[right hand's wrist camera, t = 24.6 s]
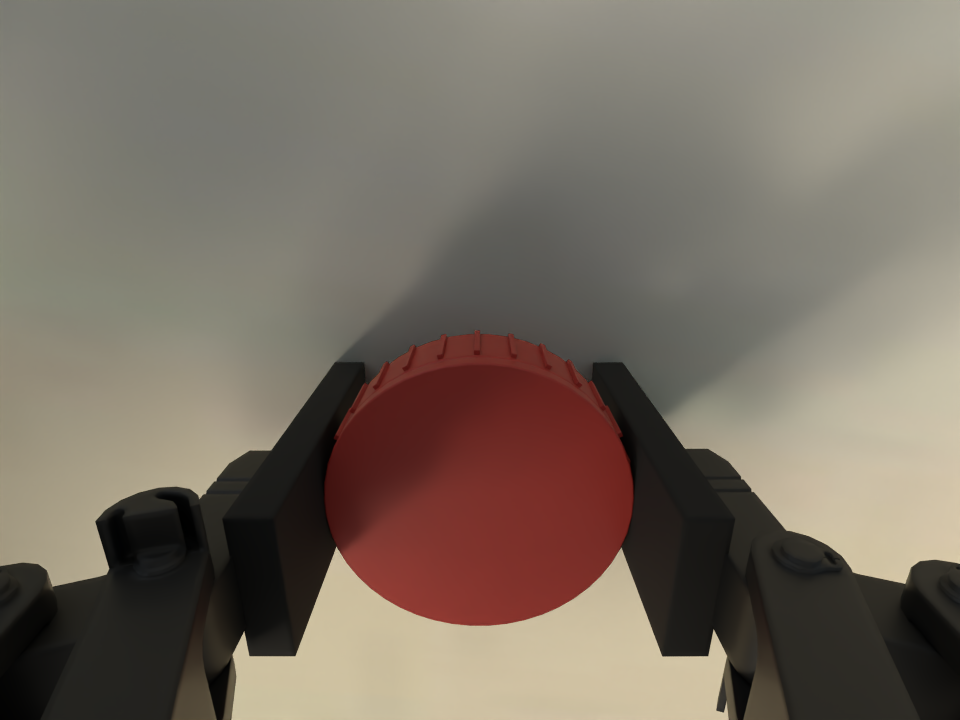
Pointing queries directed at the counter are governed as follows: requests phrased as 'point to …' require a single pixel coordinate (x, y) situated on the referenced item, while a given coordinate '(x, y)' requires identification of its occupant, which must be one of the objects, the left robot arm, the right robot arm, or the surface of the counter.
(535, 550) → the lid
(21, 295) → the counter surface
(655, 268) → the counter surface
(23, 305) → the counter surface
